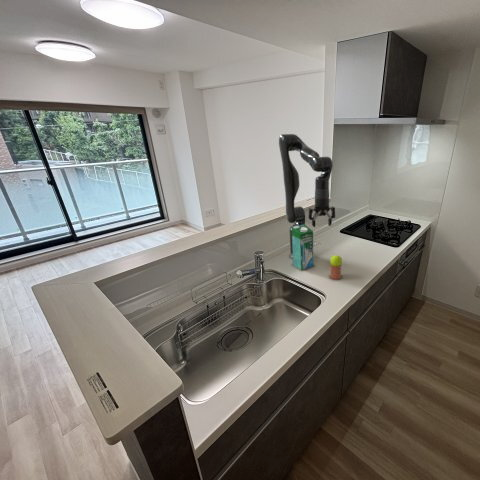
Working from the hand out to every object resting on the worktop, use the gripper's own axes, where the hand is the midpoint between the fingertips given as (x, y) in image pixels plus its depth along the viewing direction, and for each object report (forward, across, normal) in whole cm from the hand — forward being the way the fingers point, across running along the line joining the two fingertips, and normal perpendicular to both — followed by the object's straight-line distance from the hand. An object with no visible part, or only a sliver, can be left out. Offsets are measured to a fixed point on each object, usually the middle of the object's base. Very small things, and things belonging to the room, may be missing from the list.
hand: (321, 226), depth 142 cm
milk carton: (+28, +9, -10) cm, 31 cm away
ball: (+18, -6, +8) cm, 21 cm away
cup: (+28, -6, +8) cm, 30 cm away
